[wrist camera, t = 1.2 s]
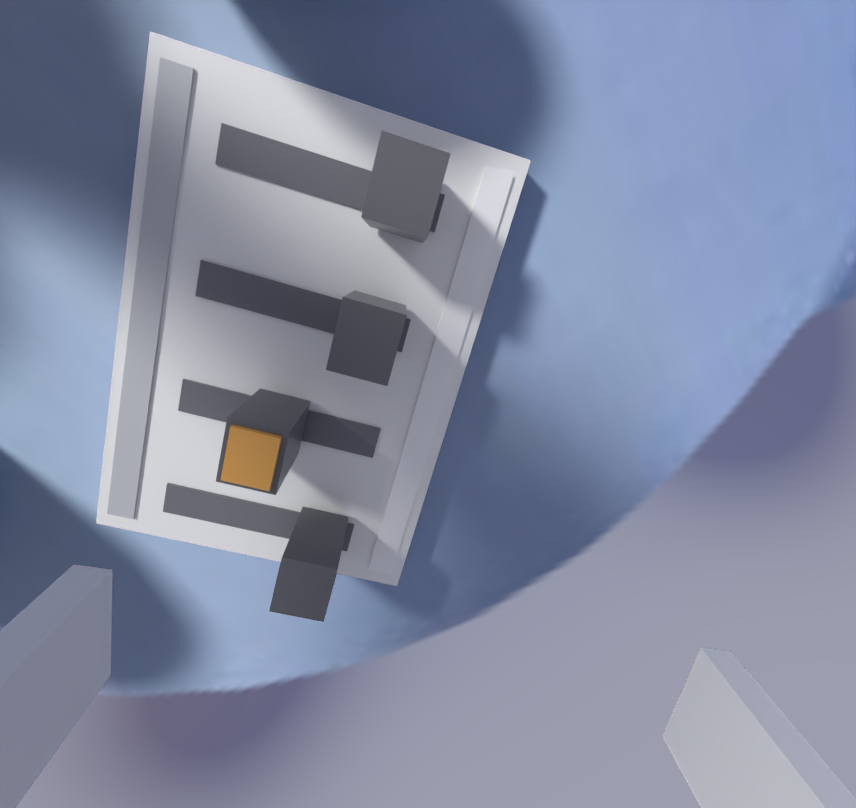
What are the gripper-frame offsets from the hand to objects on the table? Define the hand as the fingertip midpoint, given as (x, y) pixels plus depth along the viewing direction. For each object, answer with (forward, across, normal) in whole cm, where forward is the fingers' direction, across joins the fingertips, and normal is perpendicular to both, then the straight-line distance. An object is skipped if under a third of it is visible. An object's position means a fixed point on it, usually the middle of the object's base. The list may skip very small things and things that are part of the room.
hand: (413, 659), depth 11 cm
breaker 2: (+19, -4, -9) cm, 22 cm away
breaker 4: (+19, -3, +5) cm, 20 cm away
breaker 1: (+19, -7, -2) cm, 21 cm away
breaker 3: (+19, -2, +12) cm, 22 cm away
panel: (+22, -7, +2) cm, 23 cm away
